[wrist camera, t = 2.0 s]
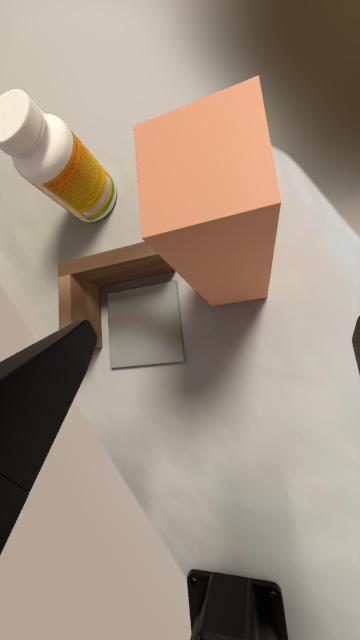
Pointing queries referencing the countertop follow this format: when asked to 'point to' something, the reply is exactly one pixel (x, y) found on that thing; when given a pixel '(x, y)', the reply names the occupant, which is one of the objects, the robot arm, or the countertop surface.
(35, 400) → the robot arm
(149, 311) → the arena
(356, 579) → the countertop surface
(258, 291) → the terracotta block
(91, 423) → the countertop surface
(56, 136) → the supplement bottle
